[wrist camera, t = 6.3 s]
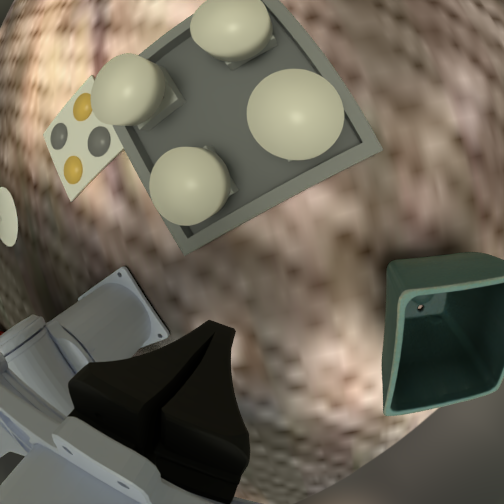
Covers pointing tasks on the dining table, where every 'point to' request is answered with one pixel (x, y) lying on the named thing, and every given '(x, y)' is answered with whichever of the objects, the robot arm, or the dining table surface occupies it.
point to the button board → (238, 123)
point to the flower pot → (442, 331)
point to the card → (80, 142)
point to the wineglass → (8, 218)
